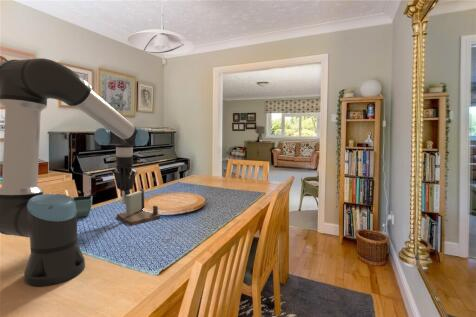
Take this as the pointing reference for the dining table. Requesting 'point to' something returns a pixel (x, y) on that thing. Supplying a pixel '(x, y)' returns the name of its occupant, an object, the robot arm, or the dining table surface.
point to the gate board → (140, 214)
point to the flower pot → (83, 205)
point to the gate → (133, 202)
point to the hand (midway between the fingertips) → (125, 203)
